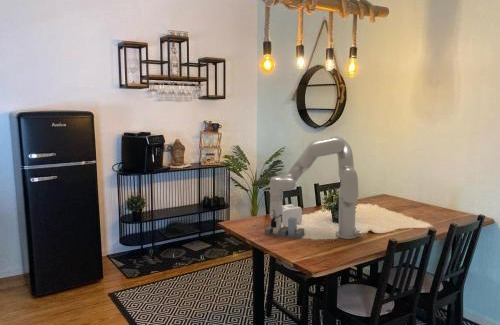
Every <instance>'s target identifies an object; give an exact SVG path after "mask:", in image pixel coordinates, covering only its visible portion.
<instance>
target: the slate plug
mask: <svg viewBox="0 0 500 325" xmlns="http://www.w3.org/2000/svg"><path fill="white" fill-rule="evenodd" d="M287 226H288V235H289V236H294V233H295V232H296V231H297V230H298V228H297V227H298V224H297V218H292V217H290V218H289V219H288V225H287Z"/></svg>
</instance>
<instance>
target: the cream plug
mask: <svg viewBox="0 0 500 325" xmlns="http://www.w3.org/2000/svg"><path fill="white" fill-rule="evenodd" d="M273 218H274V217H273ZM274 219H275V218H274ZM282 227H283V224H282V223H281V216H278V217H276V228H273V233H275V234H278V230H280V229H281V228H282Z"/></svg>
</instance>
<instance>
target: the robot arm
mask: <svg viewBox="0 0 500 325" xmlns="http://www.w3.org/2000/svg"><path fill="white" fill-rule="evenodd" d="M335 154H336V156H337V165H338V177H339V178H338V179H340V186H339V188H338V231H336V232H335V236H336V237H338V238H340V239H345V240H352V239H355V238H358V236H363V231H361V230H357V228H356V205H357V204H356V202H357V200H358V198H359V178H358V173H357V171H356V169H355V165H354V163H355V162H354V155H353V150H352V147H351V146H350V143H349V142H348V141H346V140H345V139H344V138H343V137H340V136H337V135H334V136H331V137H330V138H329V139H326V140H321V141H319V140H312V141H311V142H309V143H308V145H307V147H306V148H305V149H304V151H303V152H302V153H301V154H300V155H299V157H298V158H297V159H296V161H295V163H294V164H293V165H292V166H291V168H290V169H289V170H288V171H287V173H286V174H285V176H284V178H283V177H282V176H271V177H270V179H269V180H270V181H269V188H270V189H269V194H270V195H269V196H270V197H269V200H270V203H269V217H270V225H271V227H273V228H276V217H278V216H281V224H282V216H283V215H282V213H283V200H284V191H292V190H294V189H295V187H296V185H297V184H296V183H297V181H298V180H299V179H300V178H301V177H302V175H303V174H304V173H305V172H306V171H309V169H310V168H312V165H314V163H315V161H316V160H317V158H321V157H325V156H330V155H335ZM273 217H274V218H275V219H274V218H273Z"/></svg>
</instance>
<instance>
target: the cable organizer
mask: <svg viewBox="0 0 500 325" xmlns="http://www.w3.org/2000/svg"><path fill="white" fill-rule="evenodd" d="M282 205H283V204H282ZM282 215H283V216H282V223H281V224H282V226H288V219H289V218H290V217H292V218H297V225H300V224H302V221H303V208H302V207H301V206H295V205H294V204H293V203H292V204H291V203H290V204H285V205H283V213H282Z"/></svg>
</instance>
